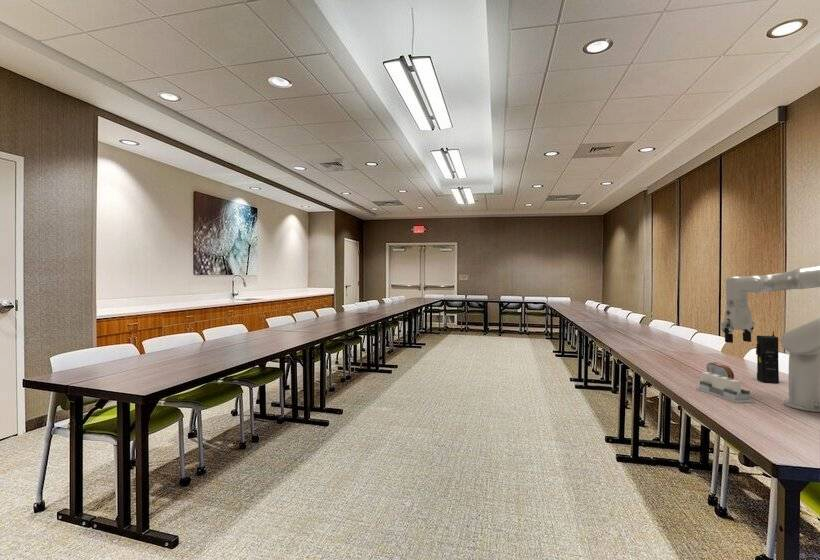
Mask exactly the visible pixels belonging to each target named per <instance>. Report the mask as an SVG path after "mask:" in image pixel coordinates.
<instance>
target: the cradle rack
mask: <svg viewBox="0 0 820 560" xmlns="http://www.w3.org/2000/svg"><path fill="white" fill-rule="evenodd" d="M695 389H696V391H700V392H703V393H705V394H708V395H712V396H714V395H715V397H717V396H719V397H718V398H720V397H721V399H723V398H724V399H723V400H726V399H727V400H726V401H729V400H730V402H732V401H733V403H735V402H736V404H744V403H743V402H750V403H755V399H752V398H751V397H750V396H751V391H750V390H747V389H743V388H741V393H737V392H736V391H733V390H729V389H726V388H725V389H724V390H722V389H718V388H715V387H712V384H710V383H707V382H704V381H701V380H699V386H696V388H695Z"/></svg>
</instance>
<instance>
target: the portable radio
mask: <svg viewBox="0 0 820 560" xmlns="http://www.w3.org/2000/svg"><path fill="white" fill-rule="evenodd" d="M755 348H756V349H755V355H756V359H757V360H756V362H757V363H756V365H757V366H756V380H757V381H759V382H762V383H765V384H766V383H768V384H780V376H779V374H780V372H779V370H780V369H779V368H780V367H779V337H778V336H775V330H773V331H772V335H756V347H755Z"/></svg>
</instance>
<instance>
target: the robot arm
mask: <svg viewBox="0 0 820 560" xmlns="http://www.w3.org/2000/svg"><path fill="white" fill-rule="evenodd" d="M814 288H815V289H816V288H820V264H819V265H814V266H812V265H811V266H805V267H800V268H799V267H798V268H795V269H793V270H791V271H786V272H779V273H772V274H766V275H765V274H763V275H762V274H761V275H760V274H758V275H750V276H743V275H742V276H741V275H740V276H737V275H735V276H727V277H726V279H725V292H726V293H725V296H726V297H725V299H726V300H725V304H726V305H725V306H726V307H725V311H724V321H723V322H720V323H719V324H720V326H719V327H720V328H721V330H722V332H723V334H724V342H725V343H727V344H728V343H729V344H733V343H734V334H733V332H734V330H737V331H738V330H742V331H743V332H742V341H743V342H747V343H748V342H749V343H751V342H752V333H753V330H754V329H755V324H756V323H755V322H754V321H753V317H752V316H753V315H752V313H751V308H750V307H749V293H752V294H754V293H755V294H759V293H771V292H772V293H773V292H779V291H788V290H805V289H806V290H807V289H814ZM780 343H781V346H782V348H783V349H784V350H785V351H786V352H789V355H788V399H787V398H786V399H784V400H783V402H782V403H783V404H784V406H787V407H790V408H792V409H796V410H801V411H805V412H811V413H812V412H815V413H820V317H819V318H816V319H814V320H812V321H810V322H808V323H805V324H802V325H799V326H798V327H796V328H793V329H791V330H788V331H786V332H785V333H784V334H783V335H782V336H781V339H780Z"/></svg>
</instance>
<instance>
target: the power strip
mask: <svg viewBox="0 0 820 560" xmlns="http://www.w3.org/2000/svg"><path fill="white" fill-rule="evenodd" d="M700 374H701V378H700V379H701V380H700V381H704V382H707V383H710V384H712V387H715V388H718V389H722V390H724V389H725V388H726V389H729V390H733V391H736V392H737V393H741V389H742V381H741V380H739V379H738V380H737V379H735V378H734V379H731V378H728V377H724V376H720V375H717V374H713V373H710V372H707V371H704V372H702V371H701V373H700Z"/></svg>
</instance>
